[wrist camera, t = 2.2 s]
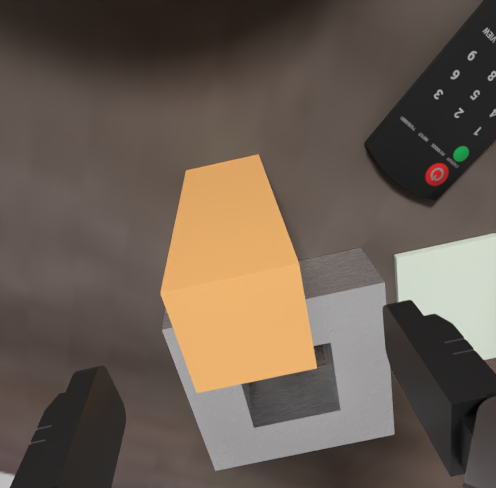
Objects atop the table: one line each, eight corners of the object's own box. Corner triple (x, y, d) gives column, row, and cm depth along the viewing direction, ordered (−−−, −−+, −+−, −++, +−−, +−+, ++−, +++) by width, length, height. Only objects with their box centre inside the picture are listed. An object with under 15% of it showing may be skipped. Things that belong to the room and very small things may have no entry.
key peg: (186, 170, 22) (160, 293, 12) (258, 154, 22) (299, 263, 12) (204, 235, 24) (196, 393, 14) (271, 221, 24) (317, 368, 13)
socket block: (169, 288, 26) (161, 329, 22) (360, 247, 25) (384, 282, 22) (215, 420, 31) (215, 470, 28) (373, 388, 31) (394, 434, 27)
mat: (393, 254, 26) (396, 257, 25) (554, 220, 25) (560, 222, 25) (399, 372, 30) (402, 376, 30) (536, 344, 30) (540, 348, 30)
